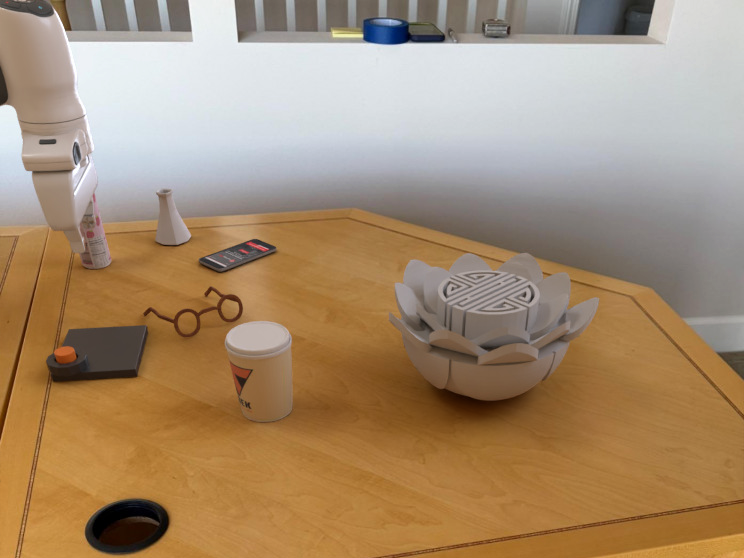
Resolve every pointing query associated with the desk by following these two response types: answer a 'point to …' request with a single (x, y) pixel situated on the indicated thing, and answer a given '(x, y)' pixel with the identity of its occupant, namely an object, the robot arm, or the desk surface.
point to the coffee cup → (261, 369)
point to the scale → (101, 353)
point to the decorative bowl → (487, 324)
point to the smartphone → (237, 255)
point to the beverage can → (95, 243)
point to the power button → (65, 355)
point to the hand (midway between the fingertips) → (85, 238)
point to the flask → (170, 221)
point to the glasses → (201, 312)
